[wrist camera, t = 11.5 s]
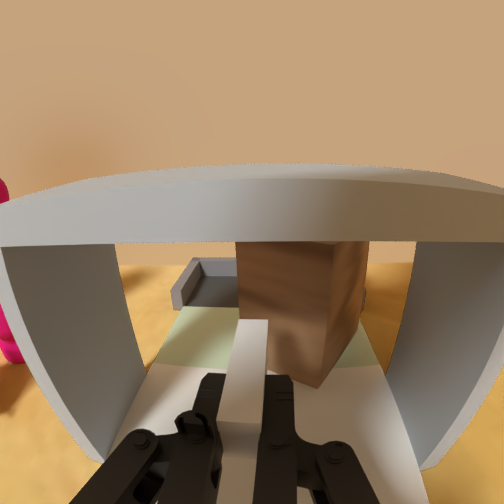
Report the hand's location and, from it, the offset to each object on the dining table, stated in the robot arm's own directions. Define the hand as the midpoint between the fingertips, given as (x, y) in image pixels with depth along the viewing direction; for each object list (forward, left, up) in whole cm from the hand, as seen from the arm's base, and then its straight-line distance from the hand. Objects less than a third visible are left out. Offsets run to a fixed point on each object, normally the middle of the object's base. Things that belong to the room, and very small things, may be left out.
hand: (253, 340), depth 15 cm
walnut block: (-8, -3, -7) cm, 11 cm away
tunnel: (+5, +6, -7) cm, 11 cm away
